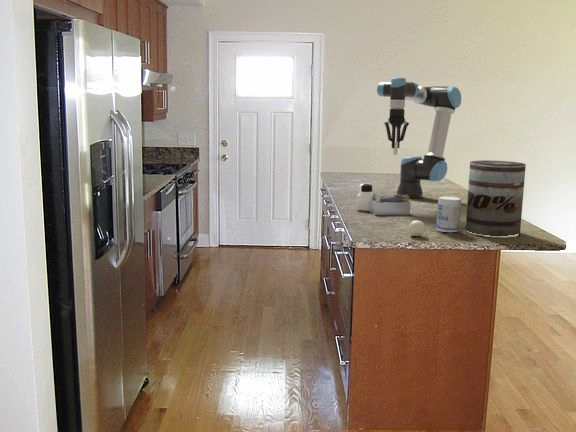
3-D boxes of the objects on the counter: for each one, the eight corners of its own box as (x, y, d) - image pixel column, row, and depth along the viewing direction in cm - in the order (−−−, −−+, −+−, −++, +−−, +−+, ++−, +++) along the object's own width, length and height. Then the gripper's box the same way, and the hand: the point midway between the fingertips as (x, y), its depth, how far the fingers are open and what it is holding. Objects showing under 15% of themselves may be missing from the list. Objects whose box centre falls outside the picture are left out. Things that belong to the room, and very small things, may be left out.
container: (373, 208, 334) (374, 183, 331) (371, 211, 326) (372, 185, 324) (359, 207, 336) (359, 182, 333) (355, 210, 329) (356, 184, 326)
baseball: (406, 237, 267) (407, 221, 266) (409, 234, 273) (410, 218, 272) (422, 239, 264) (423, 222, 263) (425, 235, 271) (426, 219, 270)
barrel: (455, 231, 280) (459, 162, 274) (482, 225, 295) (487, 159, 289) (503, 240, 264) (509, 167, 258) (529, 233, 279) (535, 163, 273)
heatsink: (403, 211, 328) (404, 192, 326) (409, 214, 318) (410, 195, 317) (369, 211, 326) (369, 192, 324) (374, 214, 316) (375, 195, 314)
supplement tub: (432, 231, 279) (434, 197, 277) (442, 228, 286) (444, 195, 284) (452, 234, 273) (455, 200, 270) (462, 231, 280) (465, 197, 278)
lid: (406, 197, 324) (406, 193, 323) (408, 198, 320) (408, 195, 320) (375, 199, 322) (375, 196, 322) (377, 201, 318) (377, 197, 318)
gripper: (386, 108, 327) (384, 155, 331) (411, 108, 328) (409, 155, 333) (382, 108, 334) (380, 153, 338) (407, 108, 336) (405, 154, 340)
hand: (395, 154), depth 335 cm, fingers closed
